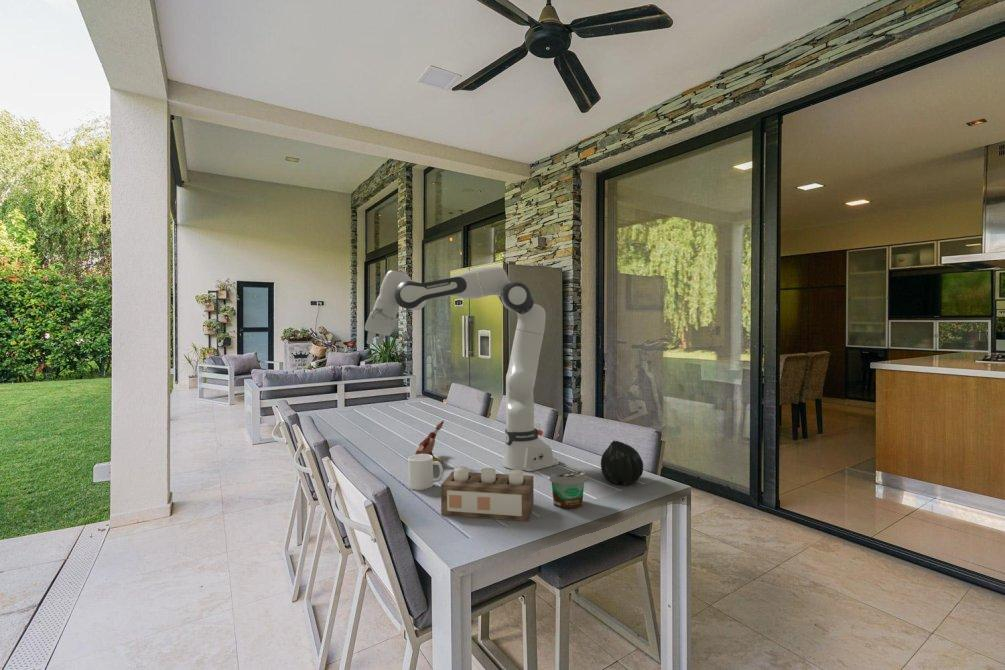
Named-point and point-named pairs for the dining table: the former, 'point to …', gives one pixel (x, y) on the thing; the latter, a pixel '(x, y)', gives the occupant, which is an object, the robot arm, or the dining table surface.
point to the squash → (621, 463)
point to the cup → (422, 471)
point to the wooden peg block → (498, 487)
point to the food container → (568, 489)
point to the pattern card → (484, 503)
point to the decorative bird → (429, 443)
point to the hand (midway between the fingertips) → (373, 344)
